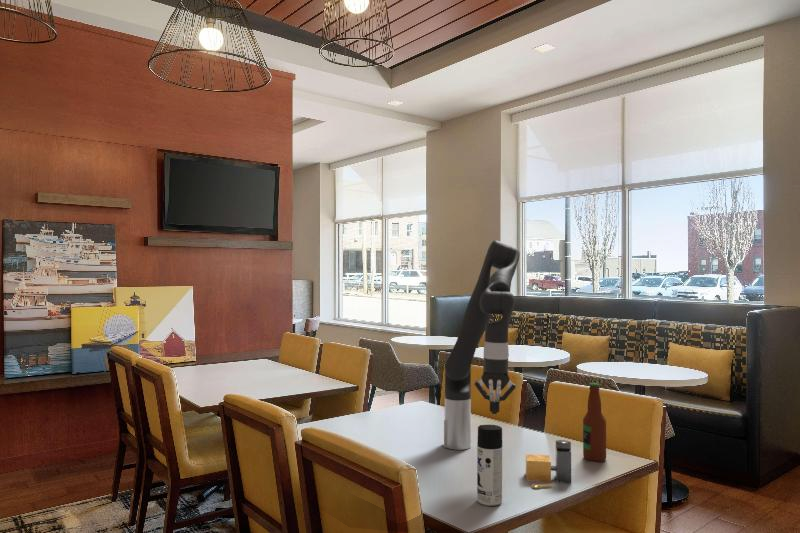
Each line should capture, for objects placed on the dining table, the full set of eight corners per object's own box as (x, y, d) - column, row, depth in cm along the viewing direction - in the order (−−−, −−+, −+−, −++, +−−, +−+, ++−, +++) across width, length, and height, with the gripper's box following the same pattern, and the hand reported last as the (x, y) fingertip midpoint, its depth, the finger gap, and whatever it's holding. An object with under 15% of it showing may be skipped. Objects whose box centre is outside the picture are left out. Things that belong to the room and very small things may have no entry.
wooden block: (526, 480, 171) (526, 460, 171) (525, 473, 177) (525, 454, 178) (551, 482, 170) (551, 461, 170) (549, 475, 176) (549, 455, 176)
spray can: (474, 497, 158) (474, 424, 158) (499, 496, 158) (498, 423, 159) (480, 507, 151) (480, 430, 152) (505, 506, 152) (505, 430, 152)
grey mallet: (529, 480, 171) (529, 442, 172) (528, 473, 177) (528, 437, 178) (572, 482, 169) (571, 445, 169) (569, 476, 175) (569, 439, 175)
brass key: (533, 489, 164) (533, 487, 164) (530, 486, 166) (530, 484, 166) (552, 488, 165) (552, 486, 165) (549, 485, 167) (549, 483, 167)
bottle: (589, 454, 197) (589, 380, 197) (610, 458, 192) (609, 383, 192) (579, 458, 192) (578, 383, 192) (599, 463, 187) (599, 386, 187)
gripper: (472, 357, 174) (471, 414, 174) (517, 359, 171) (516, 418, 171) (475, 354, 181) (474, 409, 181) (518, 356, 178) (517, 412, 178)
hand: (494, 413), depth 176 cm, fingers closed
